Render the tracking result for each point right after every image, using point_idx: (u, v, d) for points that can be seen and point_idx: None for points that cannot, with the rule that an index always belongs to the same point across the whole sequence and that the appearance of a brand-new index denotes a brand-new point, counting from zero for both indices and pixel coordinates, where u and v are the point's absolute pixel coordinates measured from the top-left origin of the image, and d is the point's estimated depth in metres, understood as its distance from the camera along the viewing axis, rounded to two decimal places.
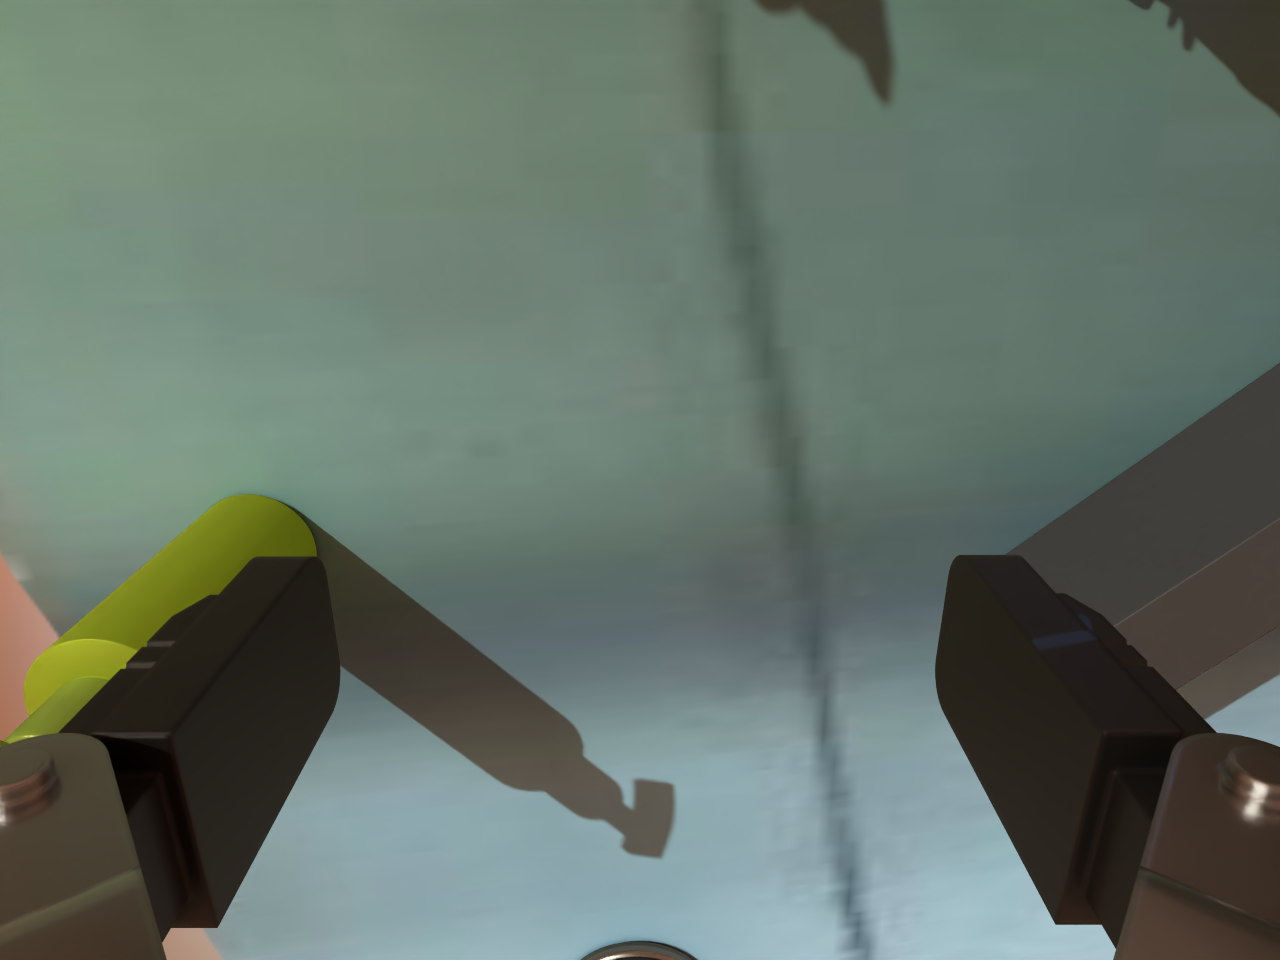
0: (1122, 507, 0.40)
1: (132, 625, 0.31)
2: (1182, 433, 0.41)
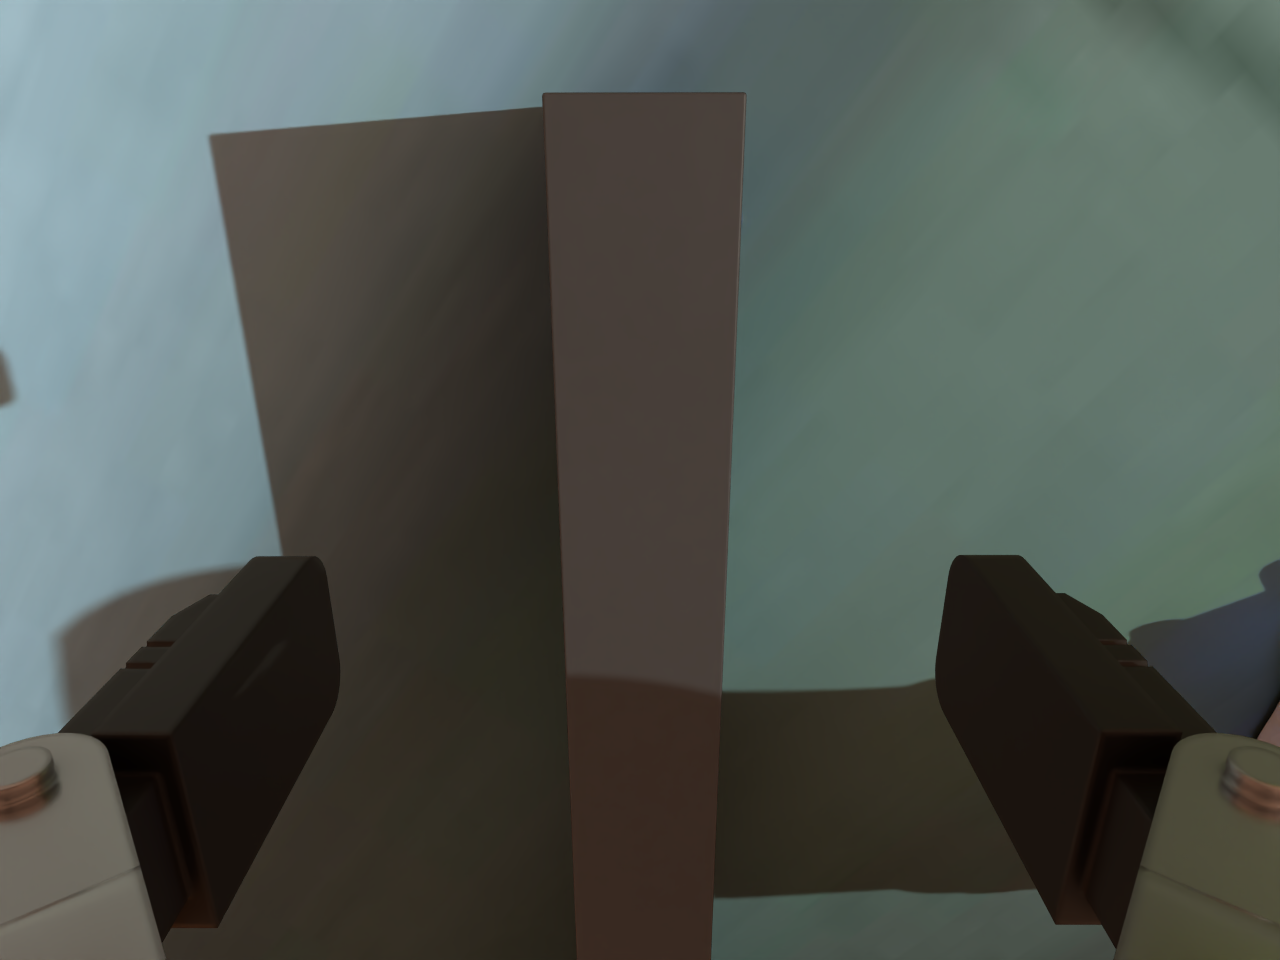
0: None
1: None
2: None
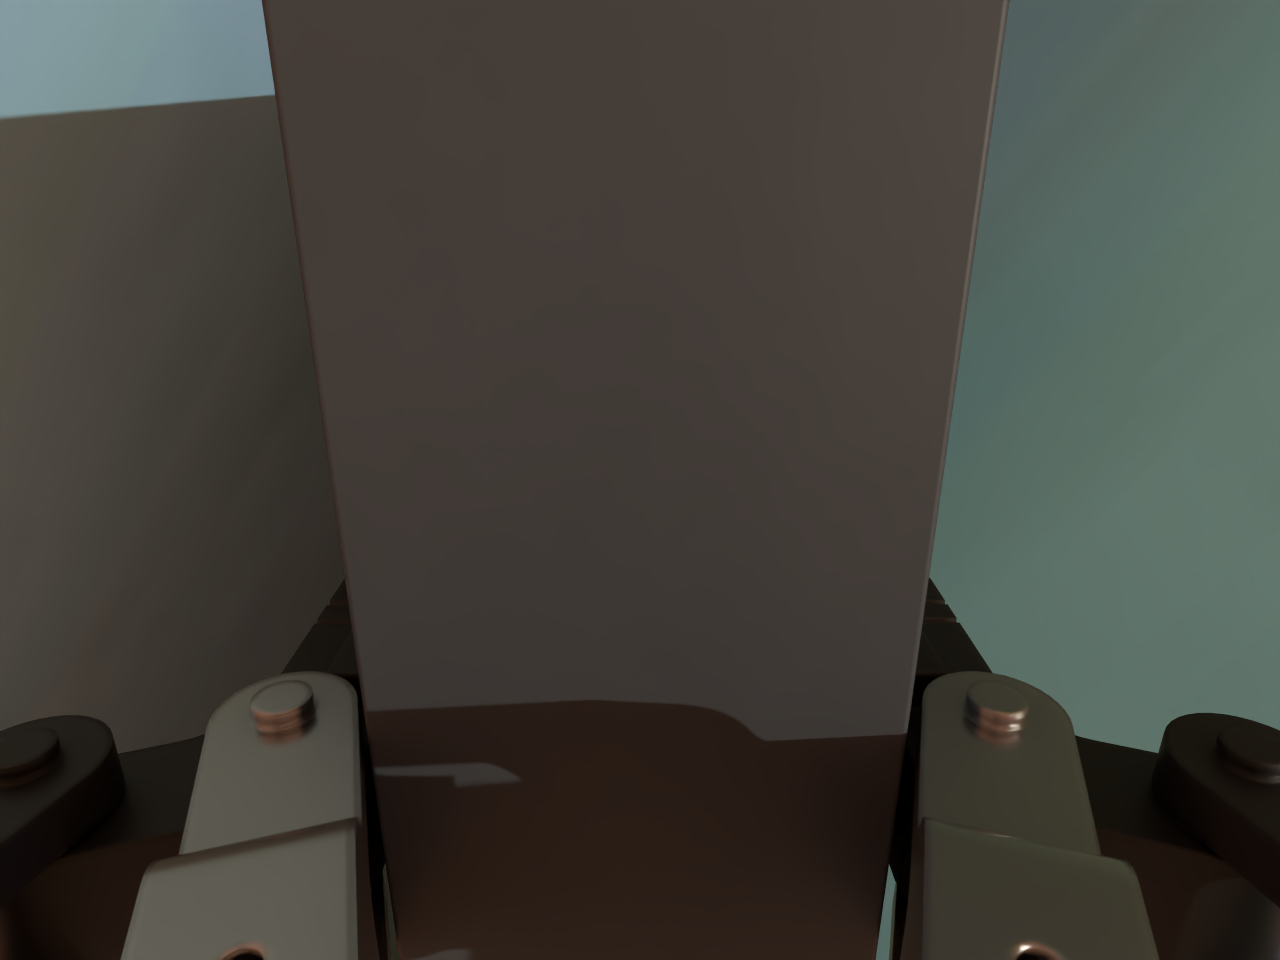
0: None
1: None
2: None
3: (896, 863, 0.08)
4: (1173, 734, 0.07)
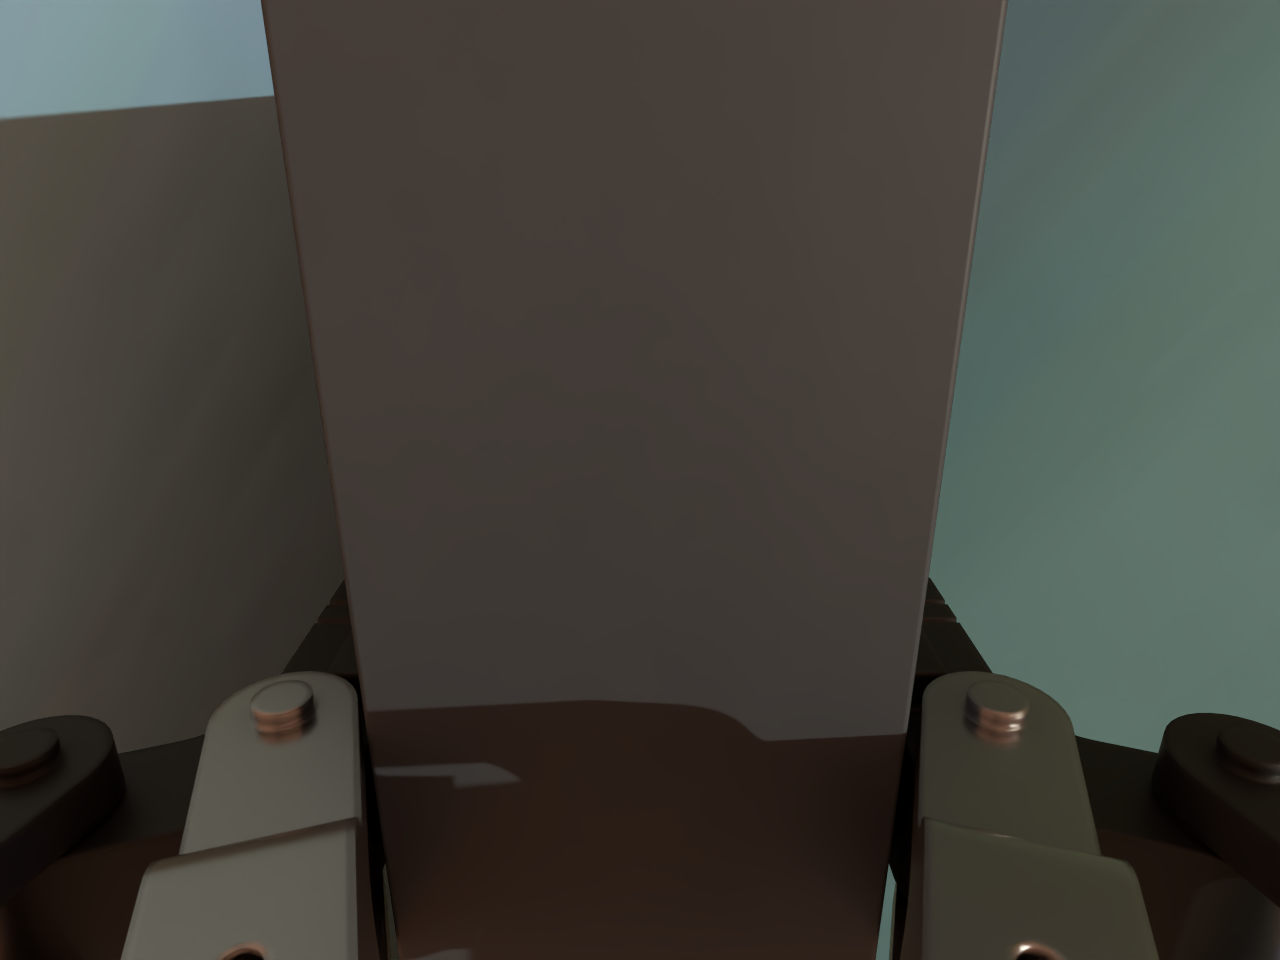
0: None
1: None
2: None
3: (895, 862, 0.08)
4: (1173, 734, 0.07)
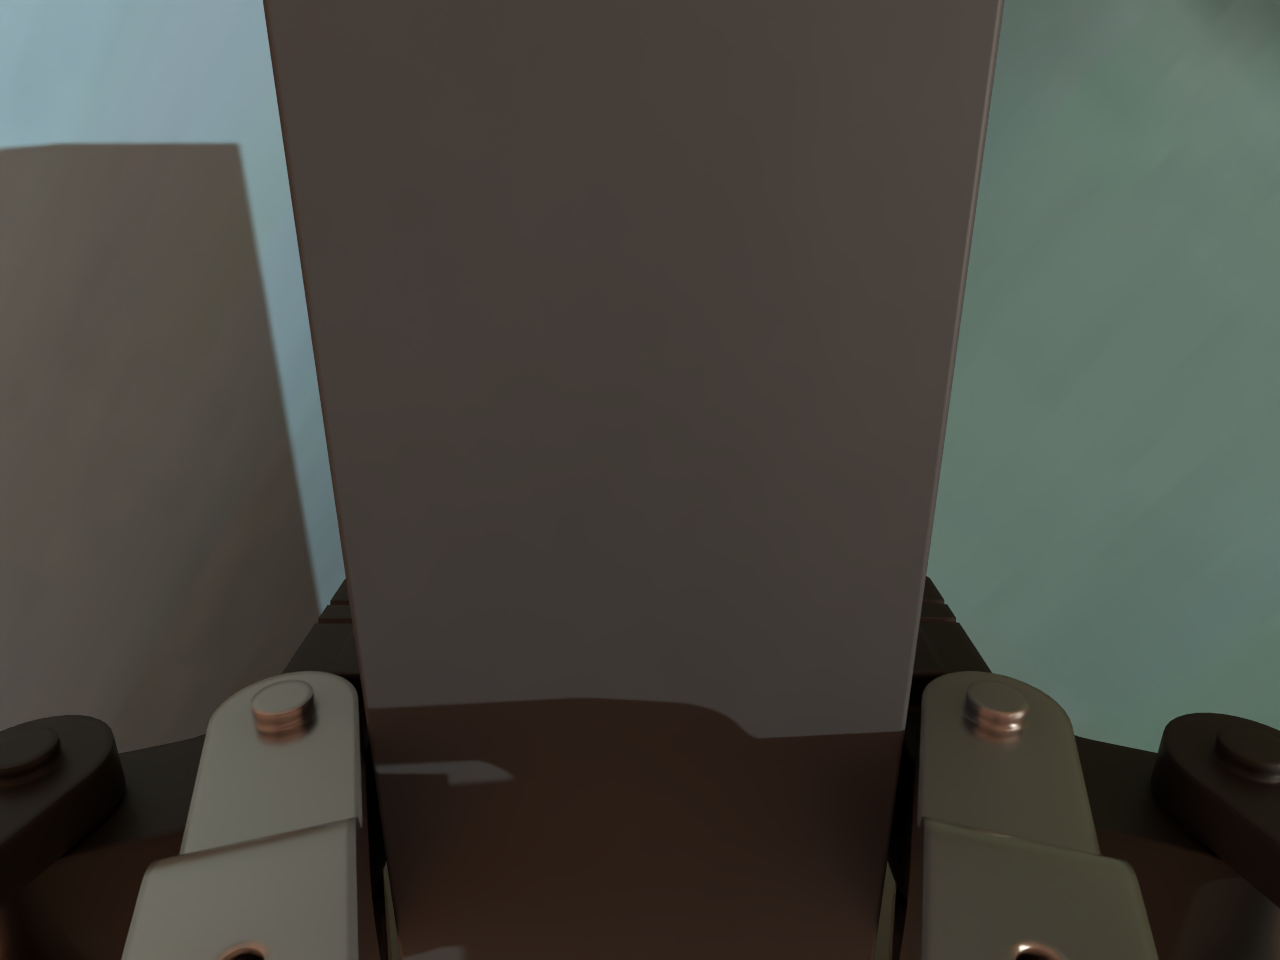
0: None
1: None
2: None
3: (895, 862, 0.08)
4: (1173, 734, 0.07)
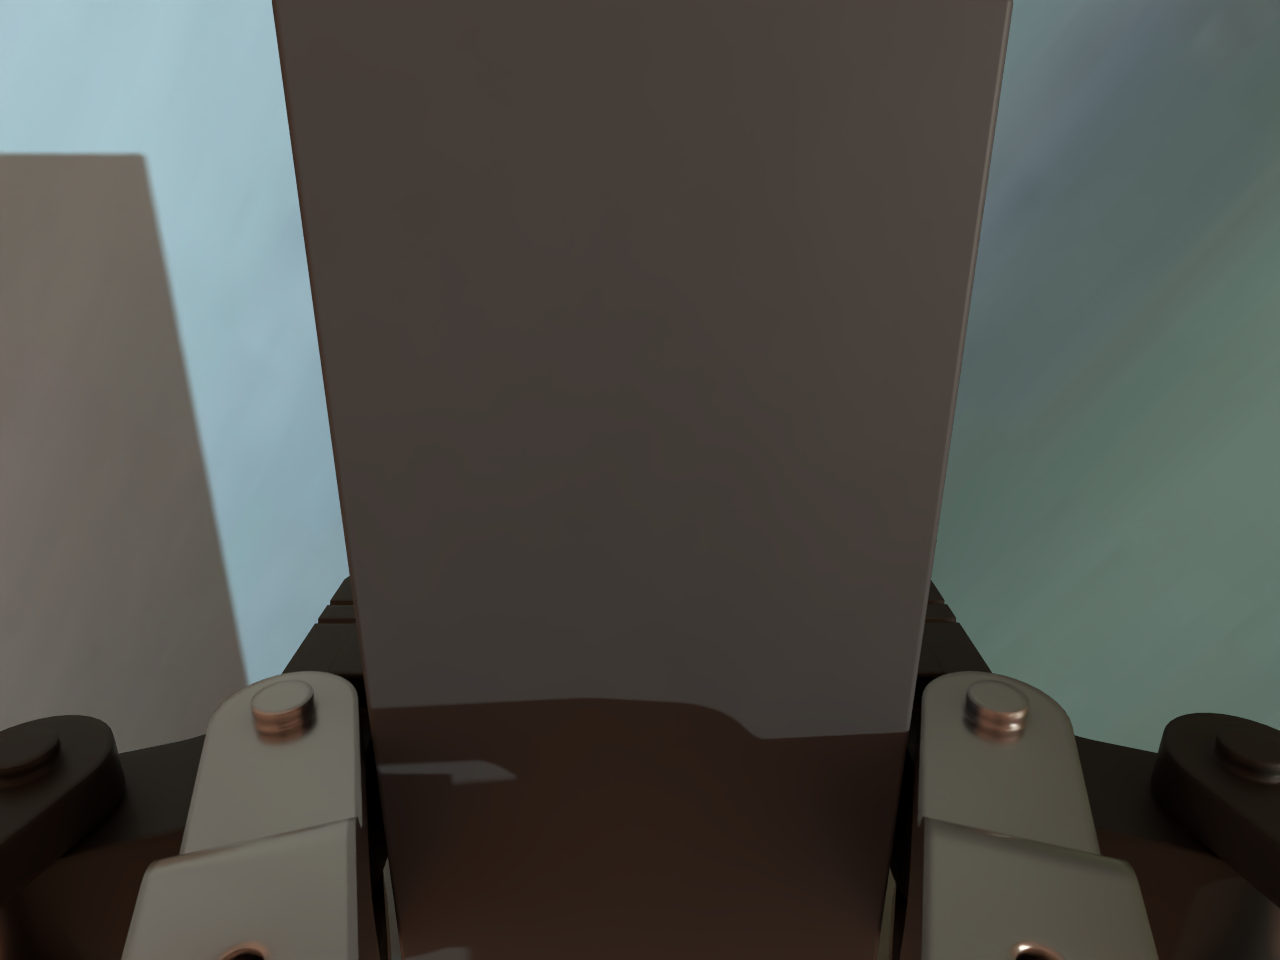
0: None
1: None
2: None
3: (895, 862, 0.08)
4: (1172, 734, 0.07)
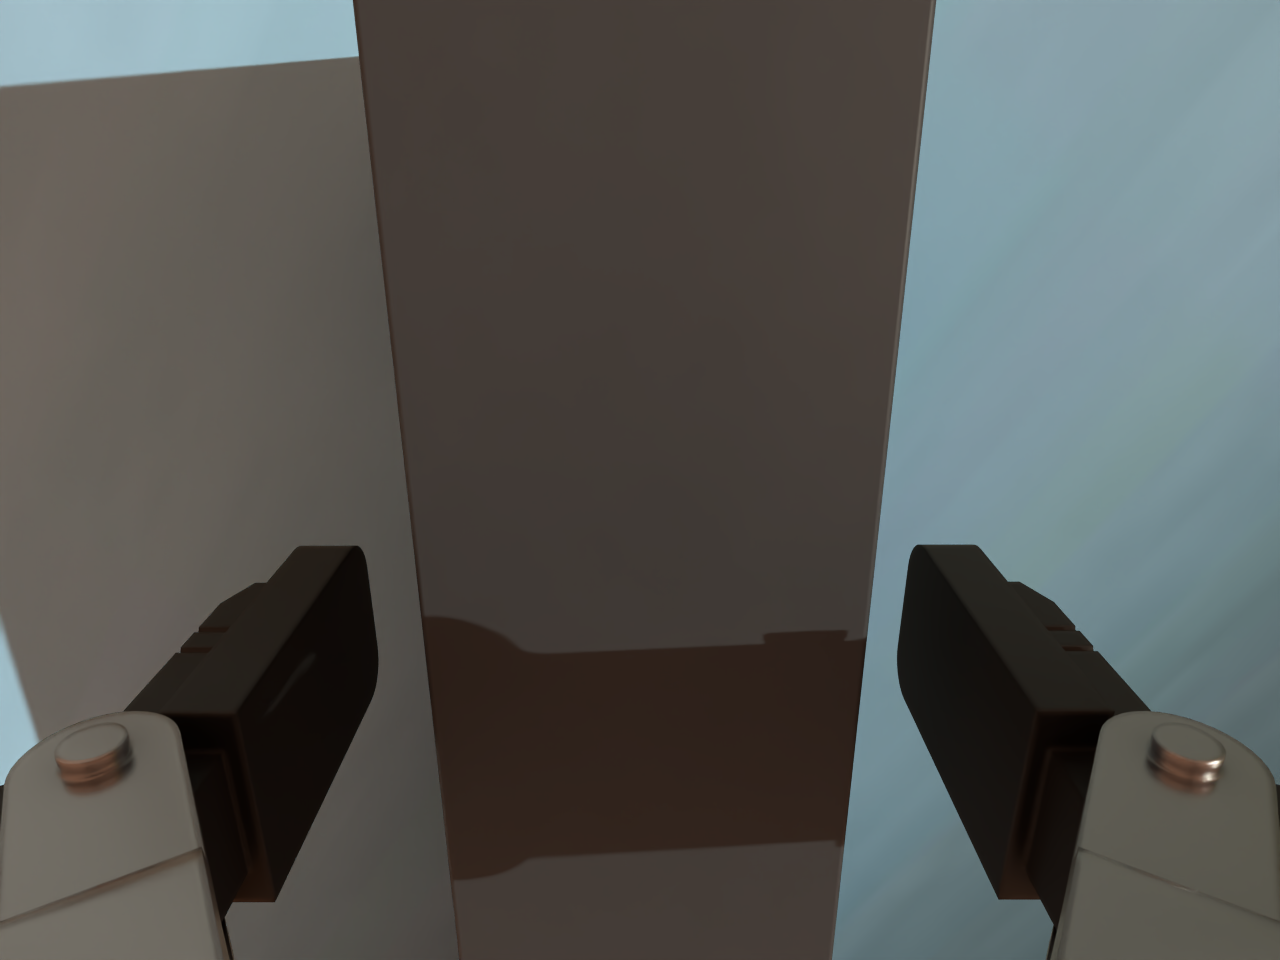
0: None
1: None
2: None
3: (1061, 915, 0.07)
4: None
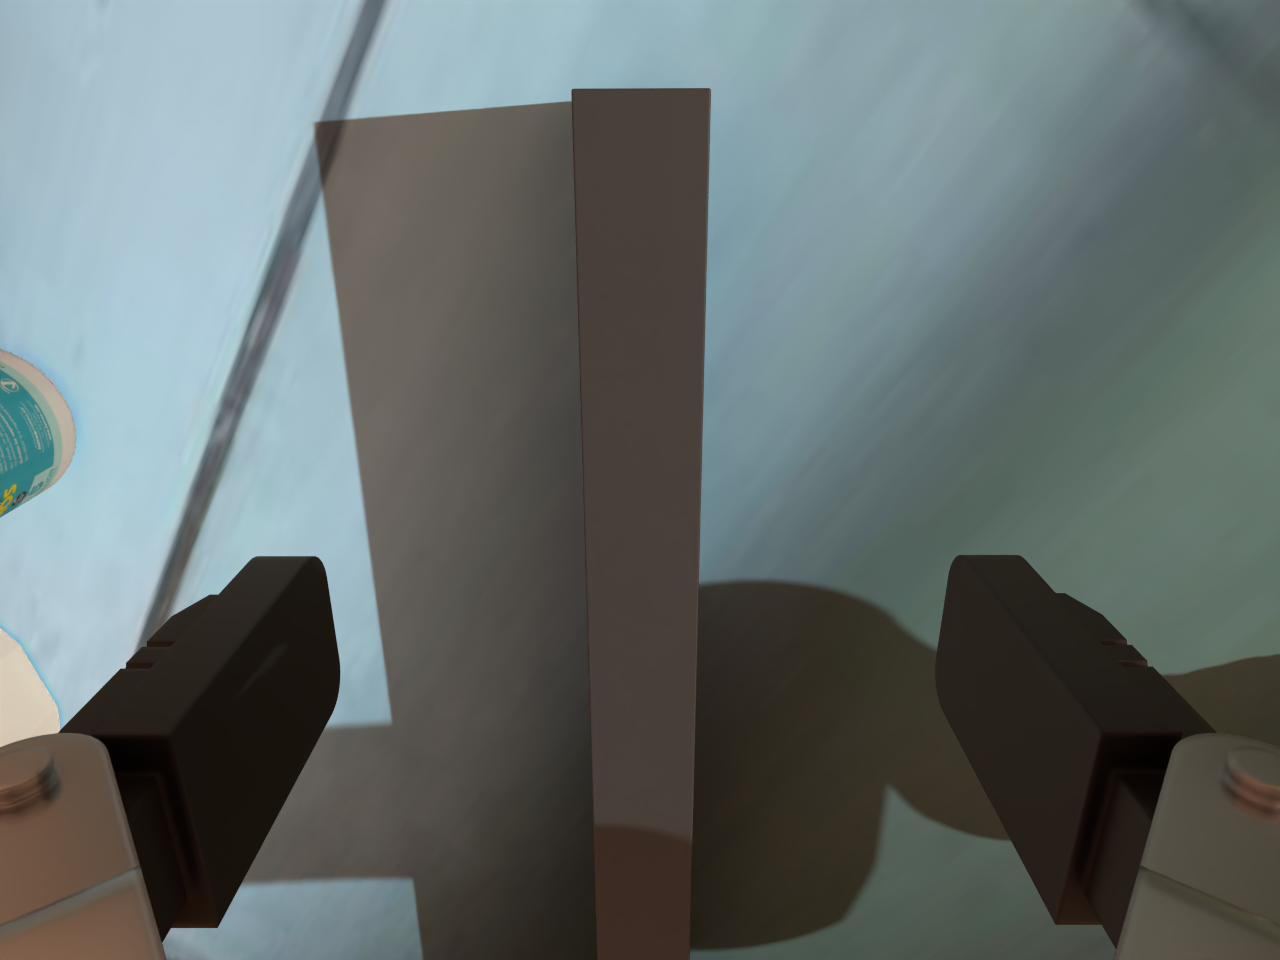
0: None
1: None
2: None
3: None
4: None
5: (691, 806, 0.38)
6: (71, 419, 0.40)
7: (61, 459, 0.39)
